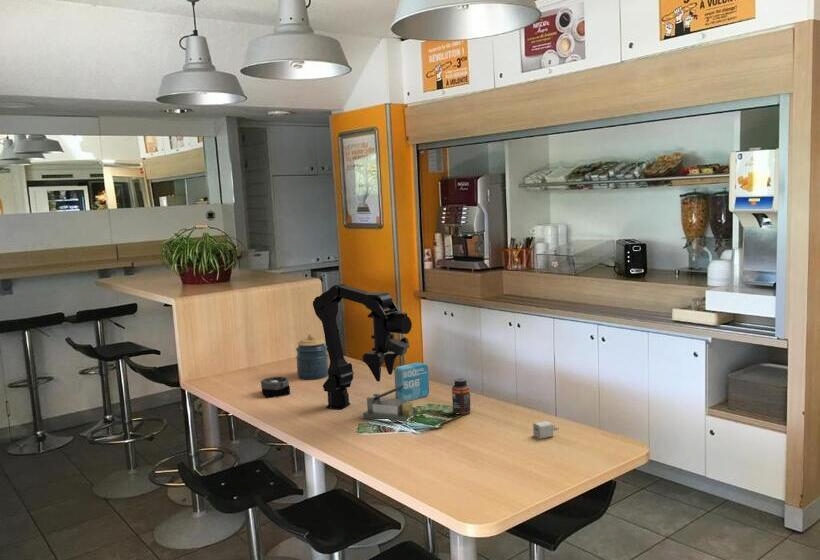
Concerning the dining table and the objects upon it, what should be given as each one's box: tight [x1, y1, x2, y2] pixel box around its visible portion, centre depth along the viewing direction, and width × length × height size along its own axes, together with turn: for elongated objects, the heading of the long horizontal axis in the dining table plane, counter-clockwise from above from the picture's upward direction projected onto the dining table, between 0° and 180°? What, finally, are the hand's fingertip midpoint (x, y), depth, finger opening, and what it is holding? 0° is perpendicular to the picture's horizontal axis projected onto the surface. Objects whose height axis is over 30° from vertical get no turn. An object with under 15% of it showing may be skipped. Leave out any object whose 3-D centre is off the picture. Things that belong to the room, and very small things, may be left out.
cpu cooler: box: [260, 376, 291, 399], centre depth 269 cm, size 10×6×10 cm
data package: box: [394, 362, 430, 402], centre depth 255 cm, size 12×4×12 cm, turn 125°
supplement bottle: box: [451, 377, 472, 416], centre depth 236 cm, size 6×6×11 cm
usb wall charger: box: [532, 420, 560, 440], centre depth 211 cm, size 4×7×4 cm, turn 111°
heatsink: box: [362, 393, 418, 421], centre depth 235 cm, size 15×10×6 cm, turn 65°
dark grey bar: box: [371, 385, 403, 401], centre depth 235 cm, size 13×3×2 cm, turn 65°
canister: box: [295, 333, 329, 380], centre depth 292 cm, size 13×13×18 cm
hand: (384, 377), depth 235 cm, fingers open, 9 cm apart
